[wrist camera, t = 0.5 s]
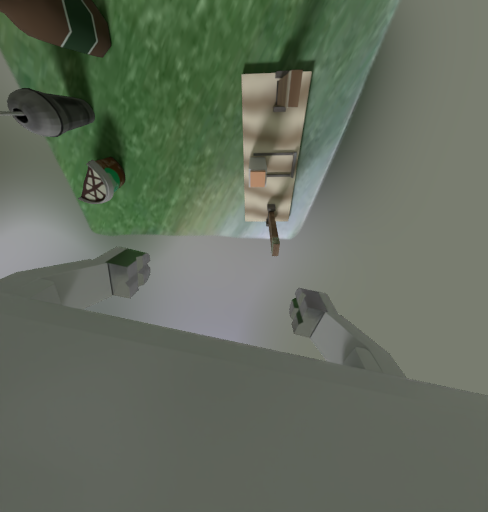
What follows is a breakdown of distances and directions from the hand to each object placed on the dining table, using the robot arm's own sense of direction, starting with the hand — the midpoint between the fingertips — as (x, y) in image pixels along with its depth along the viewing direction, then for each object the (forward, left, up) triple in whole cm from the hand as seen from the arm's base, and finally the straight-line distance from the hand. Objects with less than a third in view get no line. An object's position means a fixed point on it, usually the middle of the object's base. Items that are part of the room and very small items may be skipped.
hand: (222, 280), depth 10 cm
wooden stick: (+14, +16, -43) cm, 48 cm away
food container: (+27, -29, -47) cm, 61 cm away
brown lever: (-11, +2, -43) cm, 45 cm away
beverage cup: (+14, -37, -47) cm, 61 cm away
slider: (+4, +5, -45) cm, 45 cm away
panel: (+2, +8, -47) cm, 47 cm away
